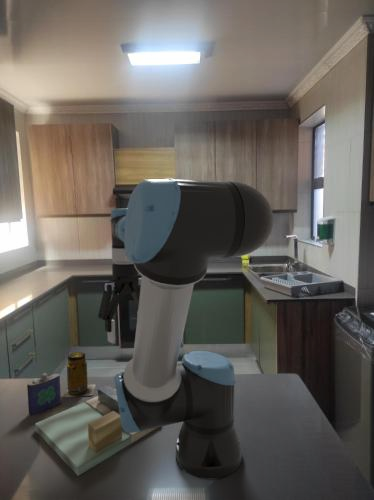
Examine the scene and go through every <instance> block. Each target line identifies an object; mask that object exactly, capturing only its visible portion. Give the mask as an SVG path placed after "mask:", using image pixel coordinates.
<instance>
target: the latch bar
mask: <svg viewBox="0 0 374 500" xmlns="http://www.w3.org/2000/svg"><path fill="white" fill-rule="evenodd" d="M114 389H115V388H112V387H111V386H109V384H107V385H106V384H105V385H103V386H101V387H99V388H97V396H98V401H100V402H101V403H103V404H104V405H105V406H107V407H108V408H110V409H111V410H113V411H115V412H116V413H118V414H119V415H120V413H119V406H118V400H117V393H116V390H114Z"/></svg>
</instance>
